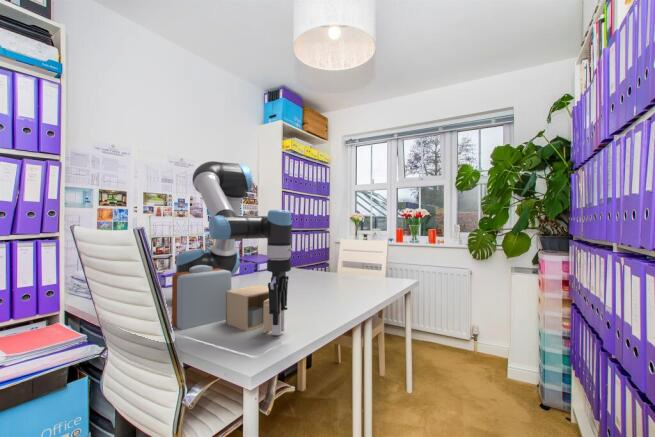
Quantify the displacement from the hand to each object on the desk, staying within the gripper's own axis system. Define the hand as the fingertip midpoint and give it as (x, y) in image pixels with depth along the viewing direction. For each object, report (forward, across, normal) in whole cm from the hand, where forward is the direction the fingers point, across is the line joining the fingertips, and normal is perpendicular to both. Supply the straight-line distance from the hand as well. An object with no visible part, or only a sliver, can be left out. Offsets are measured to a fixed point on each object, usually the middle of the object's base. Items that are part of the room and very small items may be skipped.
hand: (278, 332), depth 99 cm
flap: (+1, +6, +2) cm, 7 cm away
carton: (+2, +11, +13) cm, 17 cm away
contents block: (+1, +10, +13) cm, 17 cm away
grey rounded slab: (+2, +9, +32) cm, 33 cm away
